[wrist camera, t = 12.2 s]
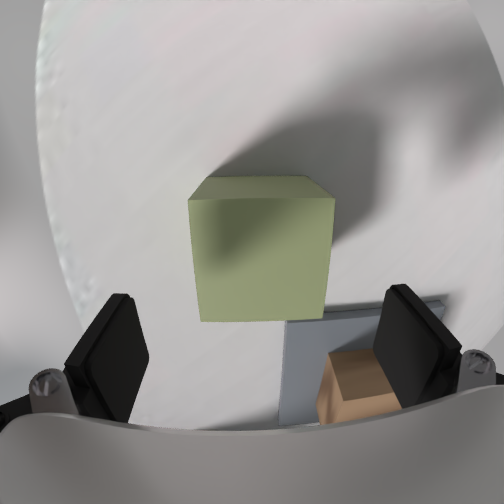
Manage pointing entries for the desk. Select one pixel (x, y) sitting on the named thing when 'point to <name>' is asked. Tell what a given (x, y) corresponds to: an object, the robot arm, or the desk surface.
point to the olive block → (261, 247)
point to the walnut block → (354, 388)
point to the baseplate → (322, 355)
